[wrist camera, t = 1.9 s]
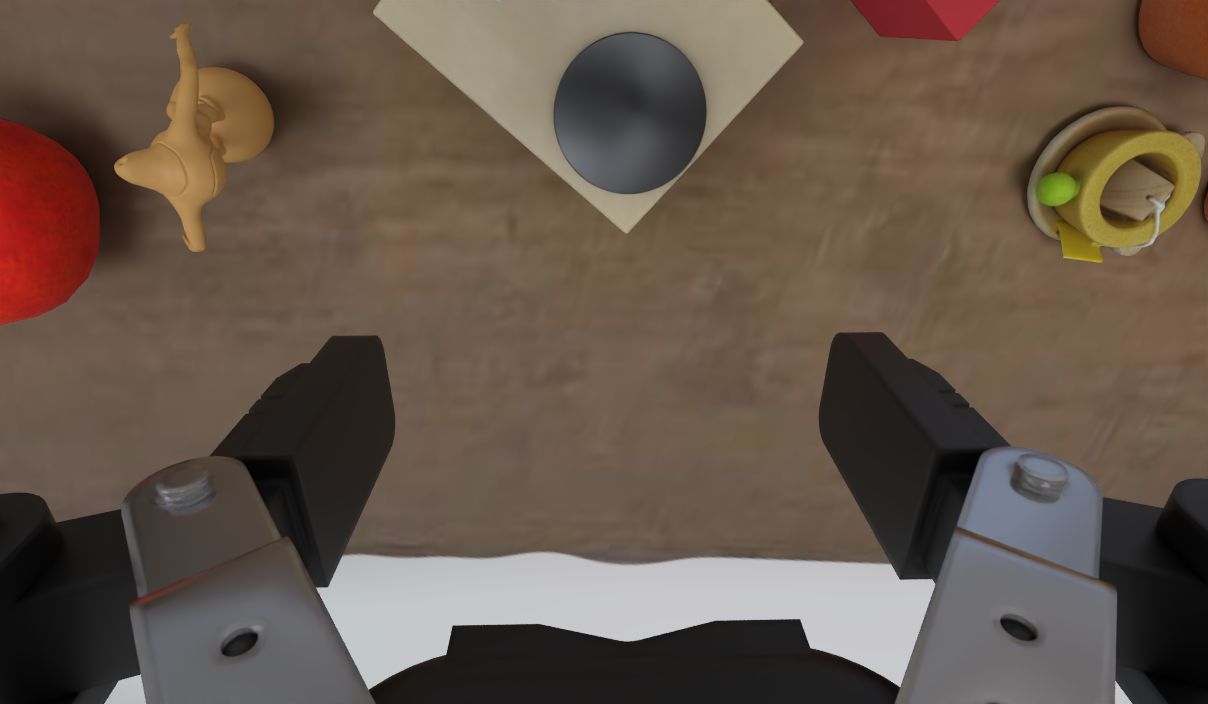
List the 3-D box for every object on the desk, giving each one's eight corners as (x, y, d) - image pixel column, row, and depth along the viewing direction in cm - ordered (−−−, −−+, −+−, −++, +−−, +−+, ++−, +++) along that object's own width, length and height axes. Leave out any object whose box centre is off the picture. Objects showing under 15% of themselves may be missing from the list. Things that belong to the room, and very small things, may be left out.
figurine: (196, 1, 28) (-39, -9, 18) (336, 36, 29) (192, 46, 18) (204, 187, 32) (13, 270, 21) (328, 213, 33) (204, 307, 22)
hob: (376, -1, 29) (353, -3, 26) (554, -277, 25) (550, -315, 22) (623, 217, 33) (626, 236, 30) (807, 16, 29) (830, 15, 26)
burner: (522, 123, 28) (521, 124, 28) (625, -6, 26) (625, -7, 26) (633, 221, 30) (634, 223, 30) (736, 109, 28) (738, 110, 28)
